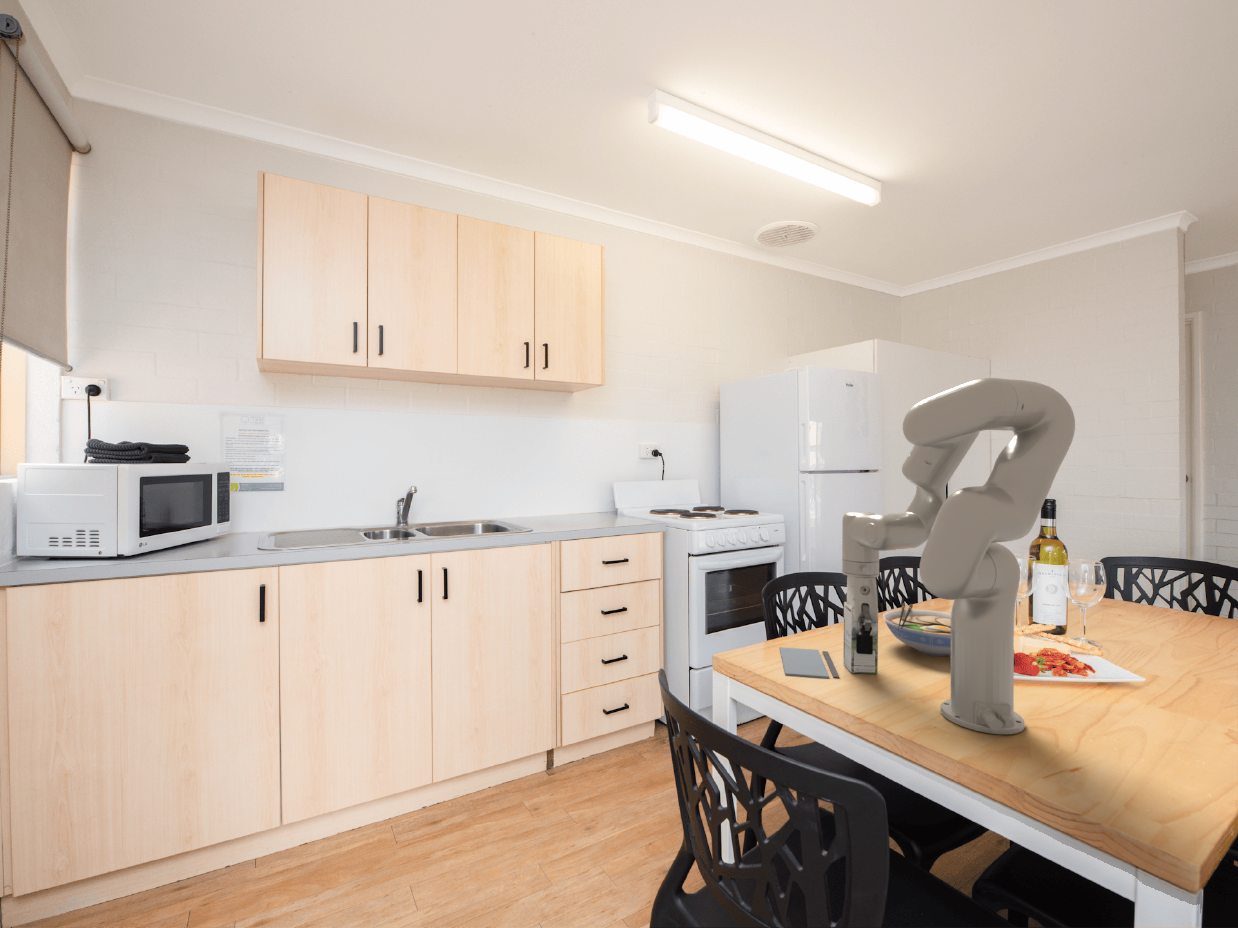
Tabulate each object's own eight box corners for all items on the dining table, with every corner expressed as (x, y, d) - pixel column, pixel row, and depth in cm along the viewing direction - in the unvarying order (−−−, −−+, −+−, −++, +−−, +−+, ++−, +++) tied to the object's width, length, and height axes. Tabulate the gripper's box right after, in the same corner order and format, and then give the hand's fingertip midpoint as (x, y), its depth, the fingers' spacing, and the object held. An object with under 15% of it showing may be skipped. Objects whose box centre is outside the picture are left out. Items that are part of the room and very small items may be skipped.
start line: (839, 678, 122) (839, 676, 122) (833, 677, 122) (833, 676, 122) (827, 652, 139) (827, 651, 139) (822, 652, 139) (822, 650, 139)
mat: (829, 678, 122) (829, 676, 122) (785, 674, 124) (785, 673, 124) (818, 651, 140) (818, 649, 140) (779, 648, 142) (779, 647, 142)
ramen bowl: (991, 676, 123) (991, 638, 123) (875, 657, 135) (875, 622, 135) (988, 645, 145) (988, 612, 145) (888, 631, 157) (888, 601, 157)
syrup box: (869, 665, 130) (869, 601, 130) (878, 674, 124) (878, 607, 124) (843, 664, 131) (843, 600, 131) (851, 673, 125) (851, 606, 125)
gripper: (888, 576, 118) (888, 661, 118) (870, 562, 135) (869, 637, 135) (849, 574, 120) (849, 659, 120) (836, 560, 137) (836, 635, 137)
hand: (860, 647), depth 127 cm, fingers open, 7 cm apart
